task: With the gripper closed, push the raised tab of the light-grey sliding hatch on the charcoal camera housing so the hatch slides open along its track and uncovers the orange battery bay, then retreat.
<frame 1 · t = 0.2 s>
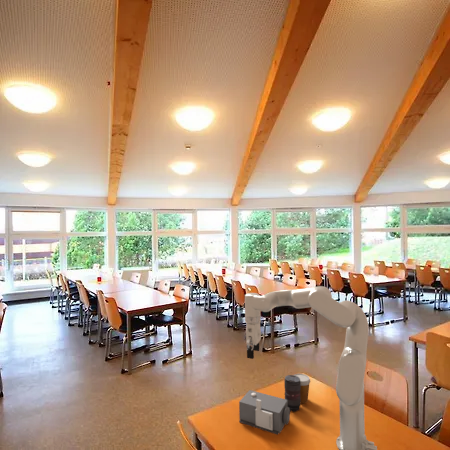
hand: (253, 354, 148), 31 cm above the table, fingers open, 9 cm apart
camera lens: (292, 408, 155), on the table
hatch: (263, 414, 139), point 7 cm above the table, slide at 0.0 cm
housing: (263, 419, 146), on the table
disposable coffee cup: (301, 400, 162), on the table
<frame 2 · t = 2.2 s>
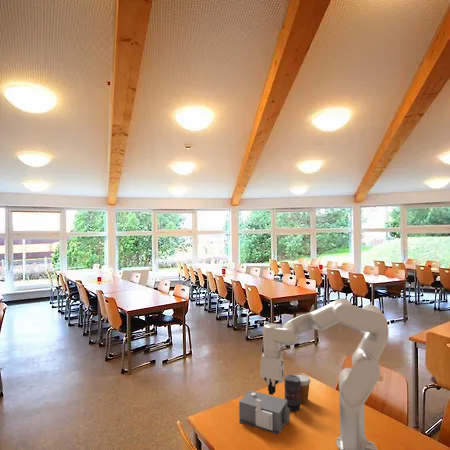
hand: (271, 393, 137), 18 cm above the table, fingers closed
nothing on the table moved.
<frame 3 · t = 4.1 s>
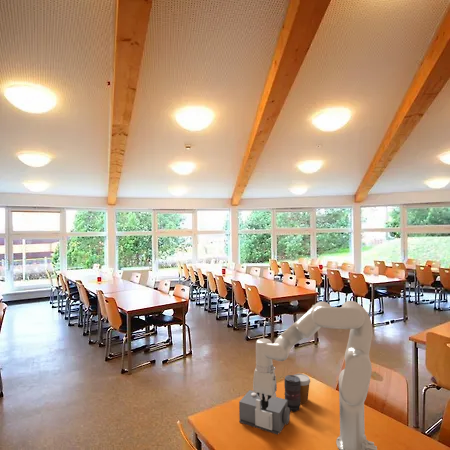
hand: (264, 407, 138), 10 cm above the table, fingers closed
hatch: (263, 414, 139), point 7 cm above the table, slide at 0.2 cm, touching gripper
everything else where it was.
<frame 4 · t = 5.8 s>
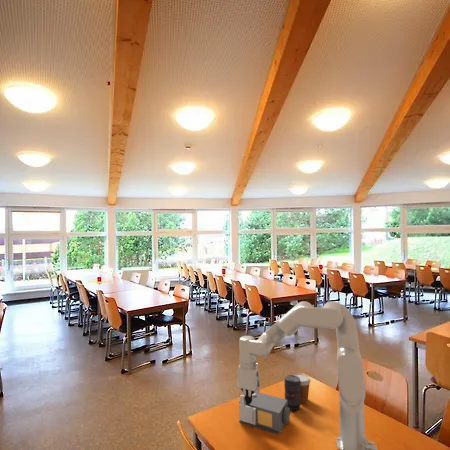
hand: (248, 403, 142), 10 cm above the table, fingers closed
hatch: (247, 409, 143), point 7 cm above the table, slide at 8.3 cm, touching gripper
everything else where it was.
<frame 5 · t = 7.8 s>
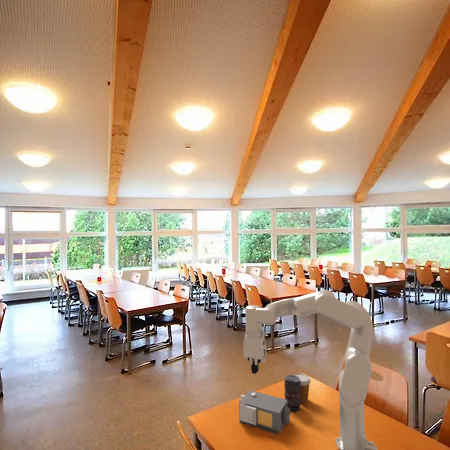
hand: (254, 372, 141), 25 cm above the table, fingers closed
hatch: (247, 409, 142), point 7 cm above the table, slide at 8.0 cm
everything else where it was.
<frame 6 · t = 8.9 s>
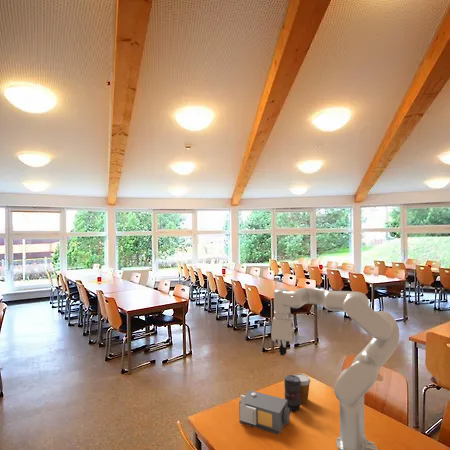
hand: (282, 354, 144), 32 cm above the table, fingers closed
nothing on the table moved.
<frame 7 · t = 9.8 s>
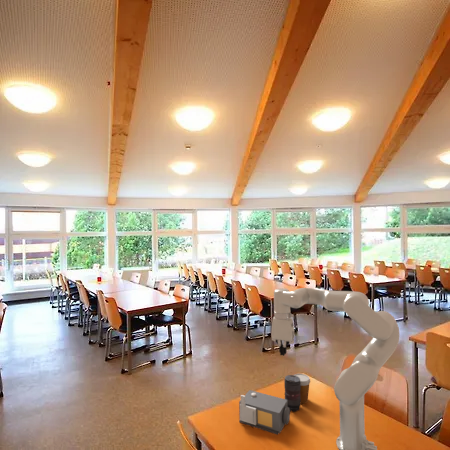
hand: (283, 354, 144), 32 cm above the table, fingers closed
nothing on the table moved.
at the end: hatch slide at 8.0 cm; hatch touching nothing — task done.
